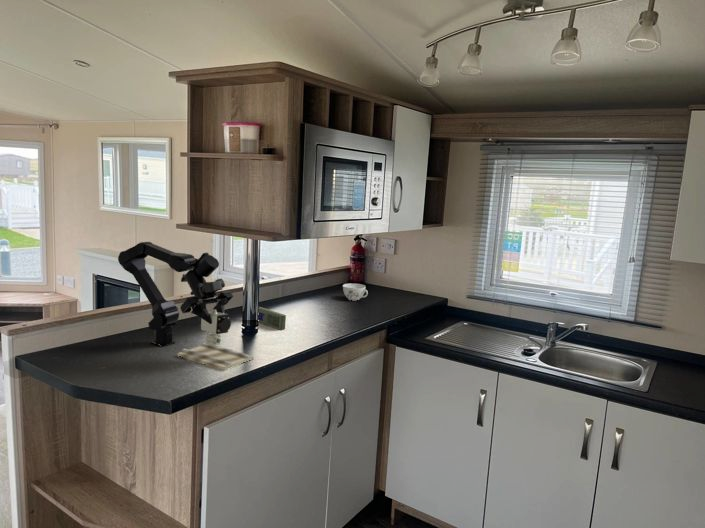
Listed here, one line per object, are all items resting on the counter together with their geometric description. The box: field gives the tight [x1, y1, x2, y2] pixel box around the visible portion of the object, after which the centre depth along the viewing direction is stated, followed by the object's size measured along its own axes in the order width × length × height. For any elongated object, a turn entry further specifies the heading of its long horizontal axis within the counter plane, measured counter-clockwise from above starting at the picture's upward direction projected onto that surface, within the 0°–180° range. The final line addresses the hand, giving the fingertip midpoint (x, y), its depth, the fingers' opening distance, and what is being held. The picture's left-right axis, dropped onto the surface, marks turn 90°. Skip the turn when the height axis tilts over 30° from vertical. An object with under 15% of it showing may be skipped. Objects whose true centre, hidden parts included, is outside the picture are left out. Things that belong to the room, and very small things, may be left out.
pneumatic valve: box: [197, 309, 232, 346], centre depth 174 cm, size 6×12×12 cm, turn 56°
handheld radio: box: [258, 306, 287, 331], centre depth 222 cm, size 7×3×25 cm
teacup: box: [342, 282, 369, 302], centre depth 277 cm, size 15×12×8 cm
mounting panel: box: [177, 342, 255, 371], centre depth 176 cm, size 22×14×2 cm, turn 59°
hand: (218, 322), depth 173 cm, fingers closed on pneumatic valve, 5 cm apart
